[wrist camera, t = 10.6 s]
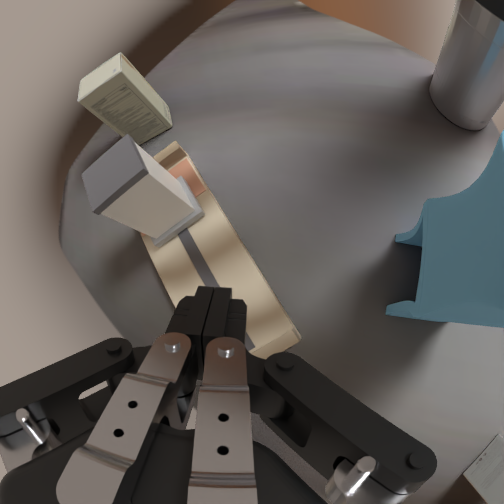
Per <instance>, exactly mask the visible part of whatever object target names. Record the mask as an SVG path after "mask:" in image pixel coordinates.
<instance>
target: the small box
mask: <svg viewBox="0 0 504 504" xmlns="http://www.w3.org/2000/svg"><path fill="white" fill-rule="evenodd" d="M463 475H464V477H465V478H466V479H467V480H468V481H469V483H470V484H471V485H472V486H473V487H474V489H475V490H476V491H477V492H478V493H479V495H480V496H481V497H482V498H483V500H484V501H485V502H486V503H487V504H504V437H502V436H501V435H500V434H498V435H497V436H496V437H495V439H494V440H493V441H492V442H491V443H490V444H489V446H488V447H487V448H486V449H485V450H484V451H483V453H482V454H481V455H480V456H479V457H478V458H477V459H476V460H475V461H474V462H473V463H472V465H471V466H470V467H469V468H468V469H467V470H466V471H465V472H464V473H463Z"/></svg>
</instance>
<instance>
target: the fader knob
mask: <svg viewBox="0 0 504 504" xmlns="http://www.w3.org/2000/svg"><path fill="white" fill-rule="evenodd" d="M81 175H82V178H83V182H84V186H85V189H86V193H87V196H88V199H89V203H90V206H91V209H92V212H94V213H96V214H98V215H99V214H102V215H104V216H107V217H109V218H111V219H113V220H115V221H117V222H120V223H122V224H124V225H126V226H128V227H131V228H133V229H135V230H137V231H140V232H142V233H144V234H146V235H148V236H150V237H151V240H152V242H153V244H154V246H156V247H161V246H162V245H163V244H165V243H166V242H168V241H169V240H170V239H172V238H173V237H174V236H176V235H177V234H179V233H180V232H181V231H183V230H184V229H185V228H187V227H188V226H190V225H191V224H192V223H194V222H195V221H197V220H198V219H200V218H201V217H202V216H204V215H205V213H204V211H203V210H202V208H201V206H200V204H199V203H198V201H197V199H196V198H195V196H194V194H193V192H192V191H191V189H190V187H189V185H188V184H187V182H186V180H185V179H184V178H183V177H182V176H179V177H178V178H177V179H176V178H174V177H173V176H172V175H171V174H170V173H169V172H168V171H167V170H165V169H164V168H163V167H162V166H161V165H160V164H159V163H158V162H157V161H155V160H154V159H153V158H152V157H151V156H150V155H149V154H148V153H146V152H145V151H144V150H143V149H142V148H141V147H140V146H139V145H137V144H136V143H135V142H134V140H133V138H132V137H131V136H130V135H129V134H126V135H125V136H124V137H123V138H122V139H120V140H119V141H118V142H117V143H116V144H114V145H113V146H112V147H111V148H110V149H109V150H107V151H106V152H105V153H104V154H103V155H102V156H101V157H99V158H98V159H97V160H96V161H95V162H94V163H93V164H92V165H91V166H90V167H89V168H87V169H86V170H85V171H84V172H83V173H82V174H81Z"/></svg>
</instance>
